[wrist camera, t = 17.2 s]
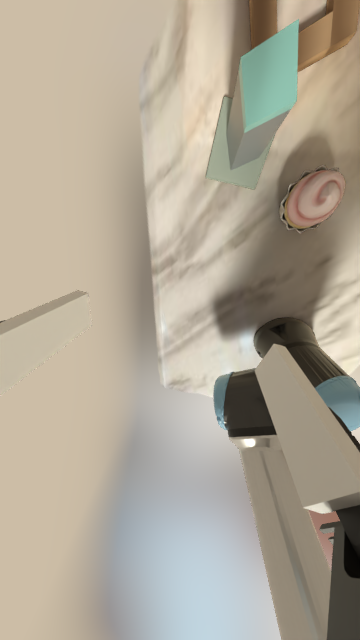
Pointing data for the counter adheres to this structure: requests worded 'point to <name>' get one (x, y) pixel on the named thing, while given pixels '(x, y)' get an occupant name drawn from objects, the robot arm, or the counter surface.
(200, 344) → the counter surface
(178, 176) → the counter surface
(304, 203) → the cupcake
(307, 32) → the brown square frame
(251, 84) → the plug
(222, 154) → the pad
